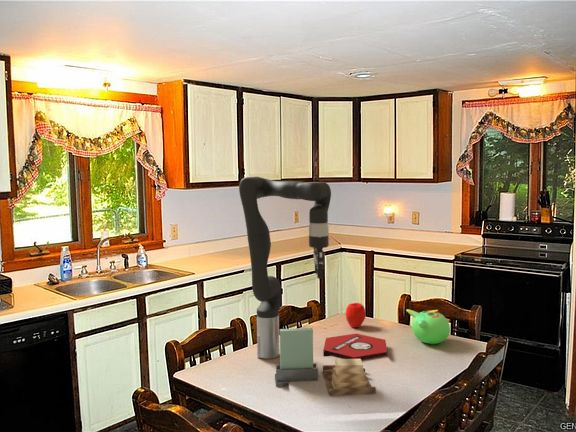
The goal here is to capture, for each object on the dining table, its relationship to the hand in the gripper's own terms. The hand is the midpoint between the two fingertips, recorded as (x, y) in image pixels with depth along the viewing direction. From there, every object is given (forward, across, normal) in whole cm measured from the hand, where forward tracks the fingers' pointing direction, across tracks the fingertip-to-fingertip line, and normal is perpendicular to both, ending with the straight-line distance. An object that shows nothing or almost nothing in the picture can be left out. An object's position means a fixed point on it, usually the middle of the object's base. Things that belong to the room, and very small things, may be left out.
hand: (319, 276), depth 204 cm
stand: (+37, +11, -10) cm, 40 cm away
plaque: (+37, -17, +17) cm, 45 cm away
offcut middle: (+32, +21, +8) cm, 40 cm away
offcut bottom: (+35, +21, +8) cm, 42 cm away
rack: (+37, +17, +8) cm, 41 cm away
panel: (+35, +11, -10) cm, 38 cm away
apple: (+37, -51, +24) cm, 68 cm away
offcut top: (+29, +21, +8) cm, 37 cm away
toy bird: (+37, -26, +52) cm, 69 cm away
